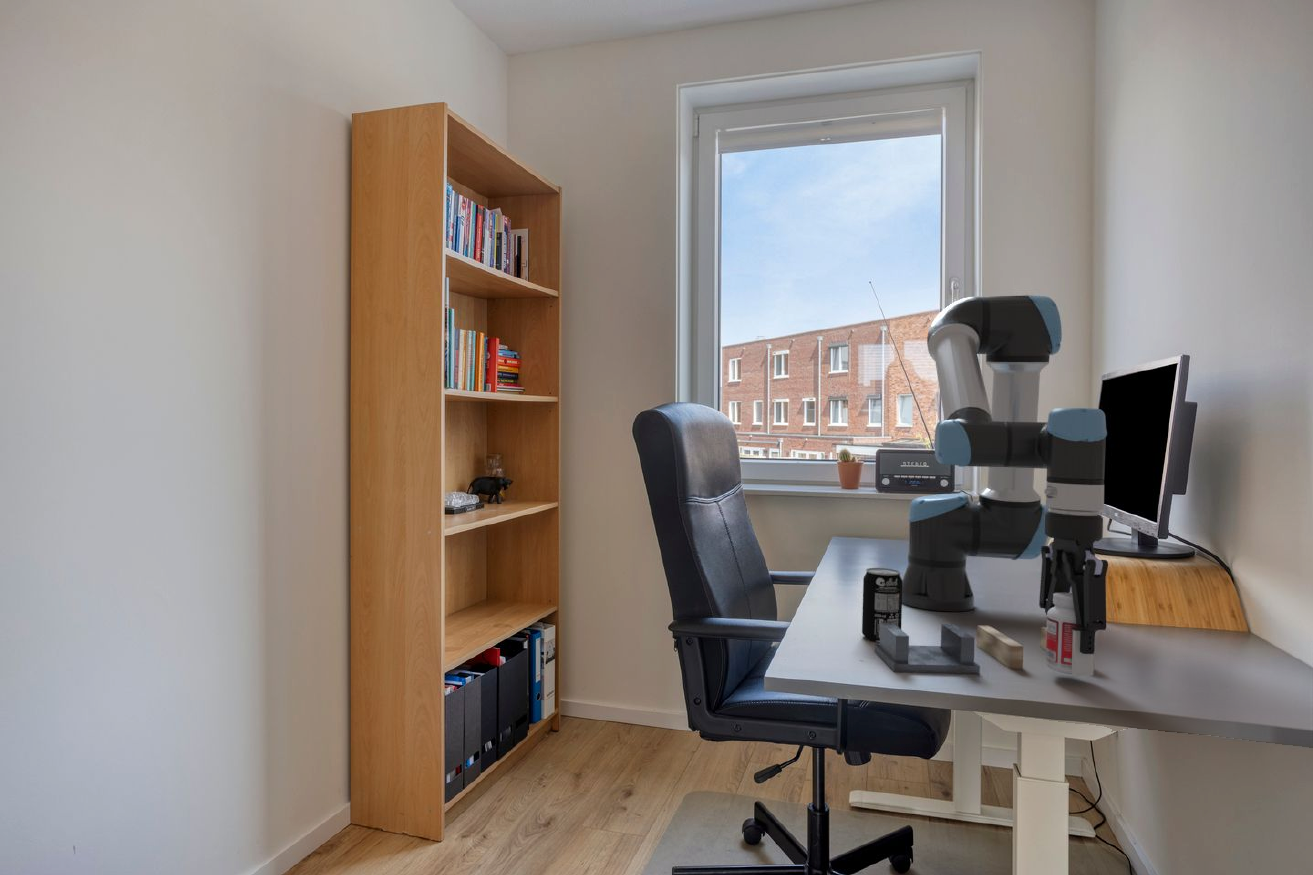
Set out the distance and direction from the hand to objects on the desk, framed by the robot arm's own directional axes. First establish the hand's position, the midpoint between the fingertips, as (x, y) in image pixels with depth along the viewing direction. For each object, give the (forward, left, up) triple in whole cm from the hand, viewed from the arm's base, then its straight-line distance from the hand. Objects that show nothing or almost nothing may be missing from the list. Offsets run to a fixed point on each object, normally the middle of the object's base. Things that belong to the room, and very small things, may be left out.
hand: (1069, 666), depth 110 cm
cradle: (-7, -19, -2) cm, 20 cm away
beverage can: (-20, -22, -2) cm, 30 cm away
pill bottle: (0, 0, -1) cm, 1 cm away
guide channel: (-11, 0, -2) cm, 11 cm away
